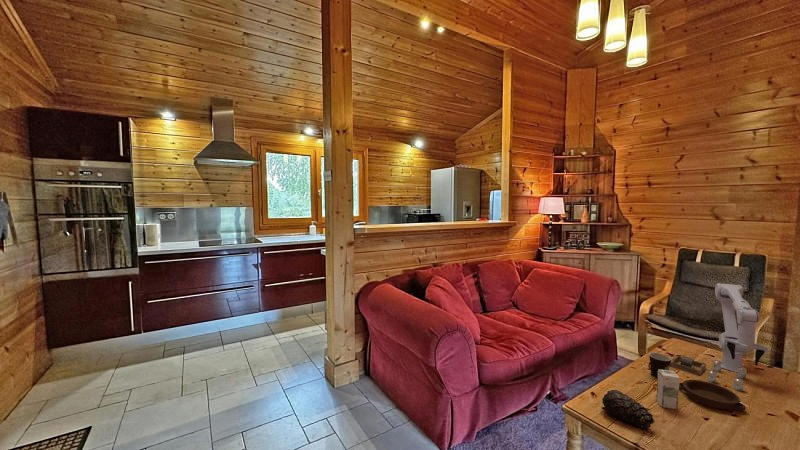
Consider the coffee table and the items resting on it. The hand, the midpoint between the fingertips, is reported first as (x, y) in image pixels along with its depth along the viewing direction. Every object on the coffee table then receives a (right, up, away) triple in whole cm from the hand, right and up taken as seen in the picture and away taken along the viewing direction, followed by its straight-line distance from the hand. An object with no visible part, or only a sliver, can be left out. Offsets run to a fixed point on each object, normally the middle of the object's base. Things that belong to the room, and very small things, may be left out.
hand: (744, 361), depth 158 cm
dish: (-30, -12, -14) cm, 35 cm away
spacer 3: (+2, -10, +4) cm, 11 cm away
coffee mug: (-38, -10, +7) cm, 39 cm away
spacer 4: (-10, -11, -6) cm, 16 cm away
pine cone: (-74, -13, -26) cm, 80 cm away
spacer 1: (-15, -10, +1) cm, 18 cm away
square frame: (-15, -9, +14) cm, 23 cm away
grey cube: (-15, -9, +14) cm, 23 cm away
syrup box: (-51, -12, -17) cm, 55 cm away
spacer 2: (-3, -9, +11) cm, 15 cm away
